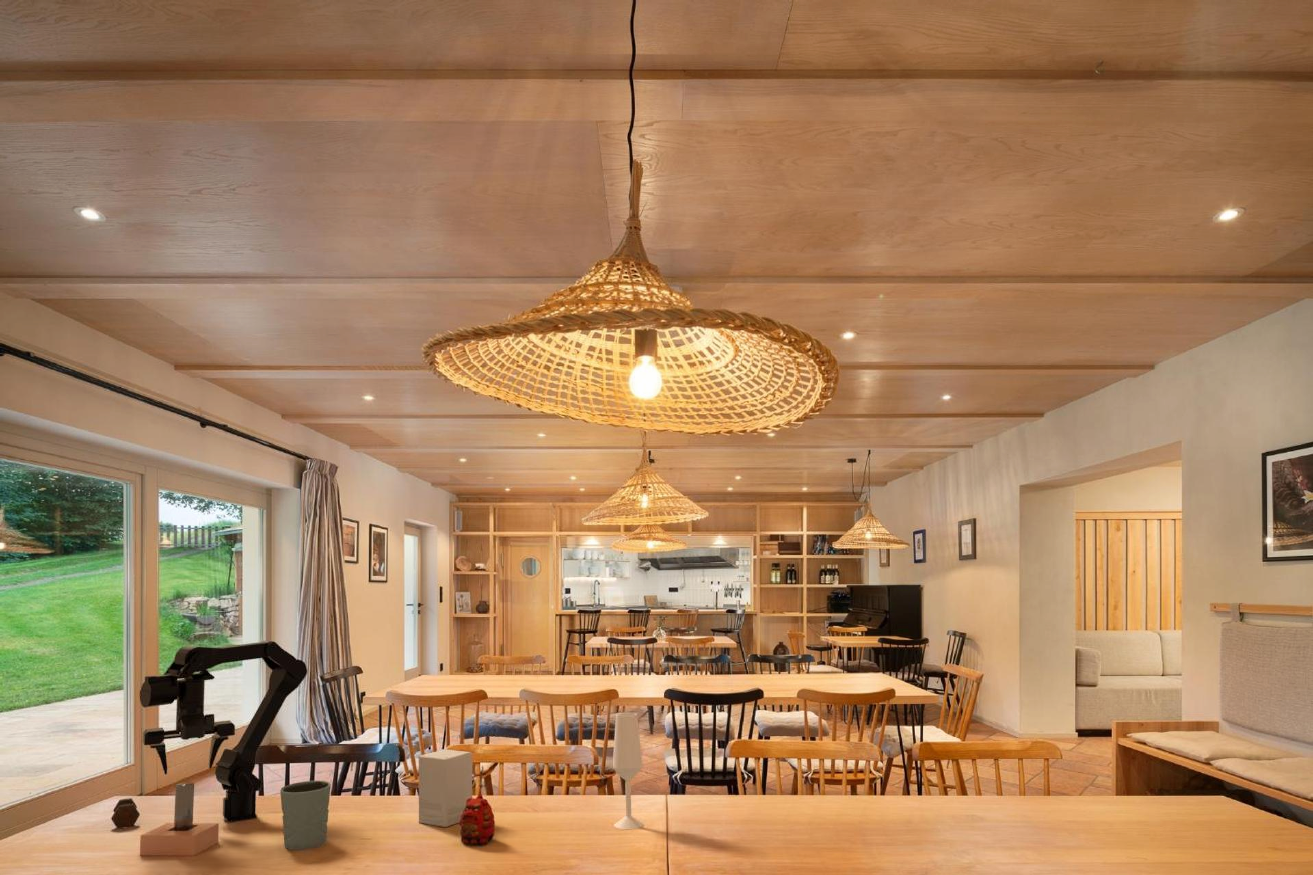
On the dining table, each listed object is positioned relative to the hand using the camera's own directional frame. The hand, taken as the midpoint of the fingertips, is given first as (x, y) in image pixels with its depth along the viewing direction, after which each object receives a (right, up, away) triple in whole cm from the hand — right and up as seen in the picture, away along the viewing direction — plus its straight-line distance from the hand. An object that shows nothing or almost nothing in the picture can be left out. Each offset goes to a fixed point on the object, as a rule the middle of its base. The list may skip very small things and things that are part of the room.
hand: (188, 771), depth 218 cm
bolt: (-19, -15, +8) cm, 26 cm away
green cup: (+32, -11, -15) cm, 37 cm away
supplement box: (+59, -12, +1) cm, 60 cm away
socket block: (+6, -11, -16) cm, 20 cm away
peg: (+6, -11, -15) cm, 19 cm away
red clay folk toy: (+70, -10, -16) cm, 72 cm away
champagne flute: (+101, -10, -6) cm, 102 cm away
